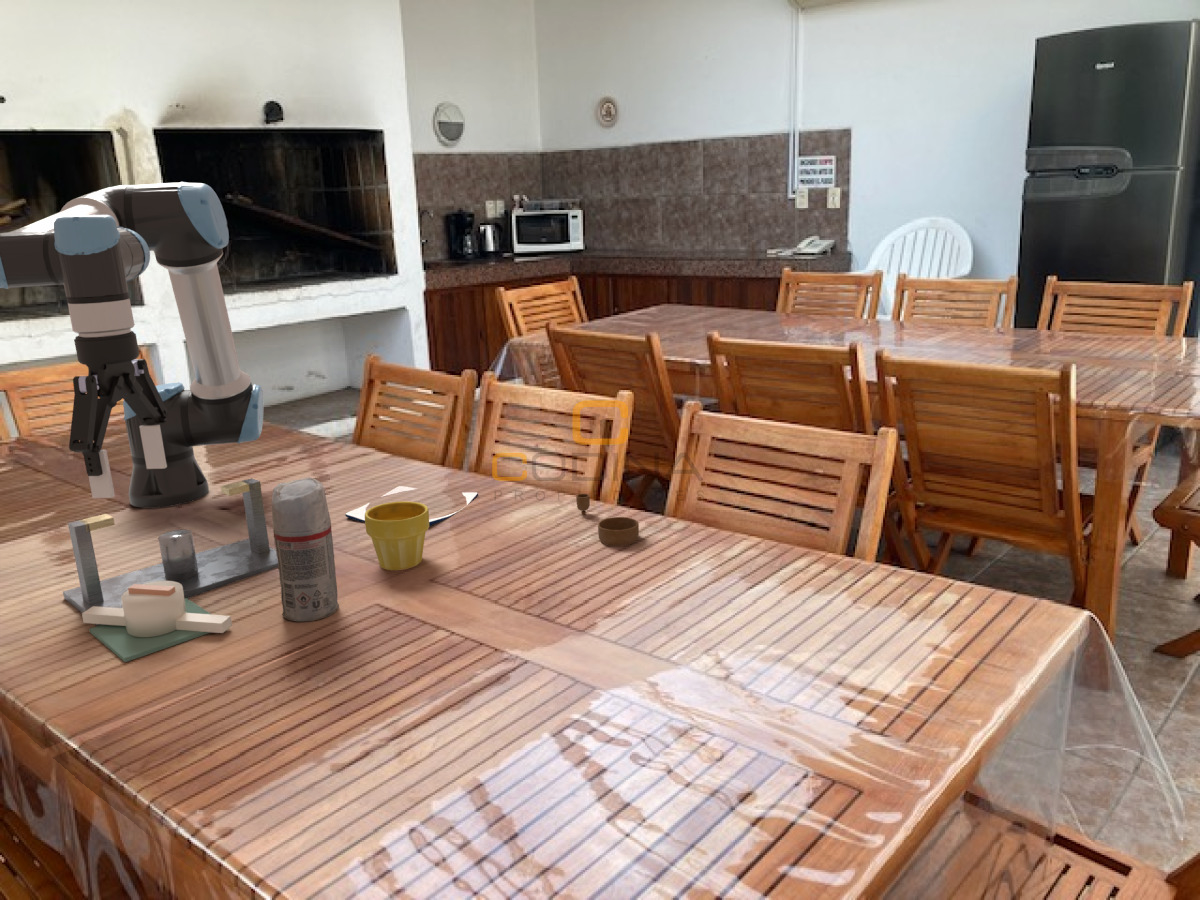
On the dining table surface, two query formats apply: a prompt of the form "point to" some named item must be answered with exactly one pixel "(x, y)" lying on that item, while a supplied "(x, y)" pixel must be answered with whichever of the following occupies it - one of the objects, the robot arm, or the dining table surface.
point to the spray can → (304, 550)
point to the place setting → (612, 526)
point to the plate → (360, 512)
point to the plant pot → (398, 533)
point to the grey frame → (176, 557)
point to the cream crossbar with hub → (155, 612)
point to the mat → (141, 646)
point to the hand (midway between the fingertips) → (131, 482)
